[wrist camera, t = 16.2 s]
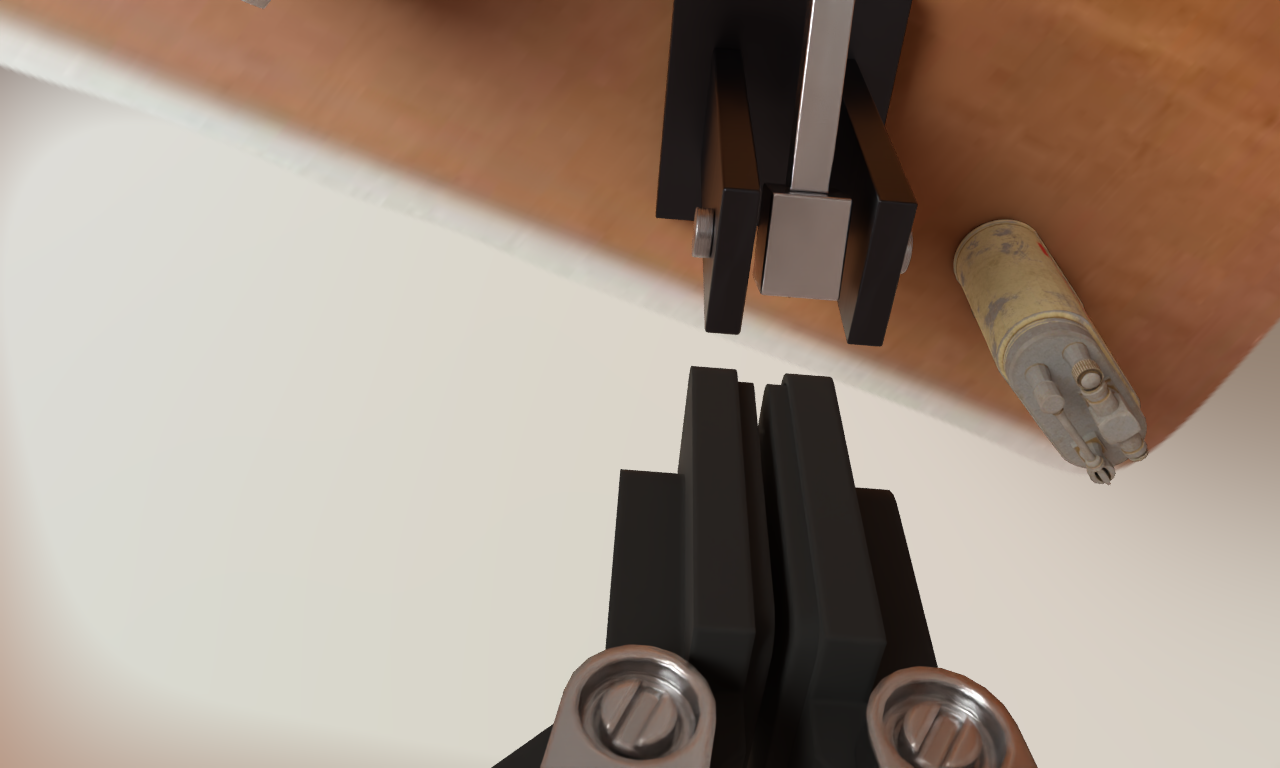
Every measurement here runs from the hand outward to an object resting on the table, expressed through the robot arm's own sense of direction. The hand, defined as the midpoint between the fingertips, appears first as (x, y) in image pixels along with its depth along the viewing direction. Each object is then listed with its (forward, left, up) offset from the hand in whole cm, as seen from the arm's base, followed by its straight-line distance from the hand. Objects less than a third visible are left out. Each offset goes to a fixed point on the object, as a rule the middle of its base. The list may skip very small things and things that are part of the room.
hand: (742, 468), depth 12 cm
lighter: (+12, +14, -27) cm, 33 cm away
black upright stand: (+5, +3, -27) cm, 28 cm away
